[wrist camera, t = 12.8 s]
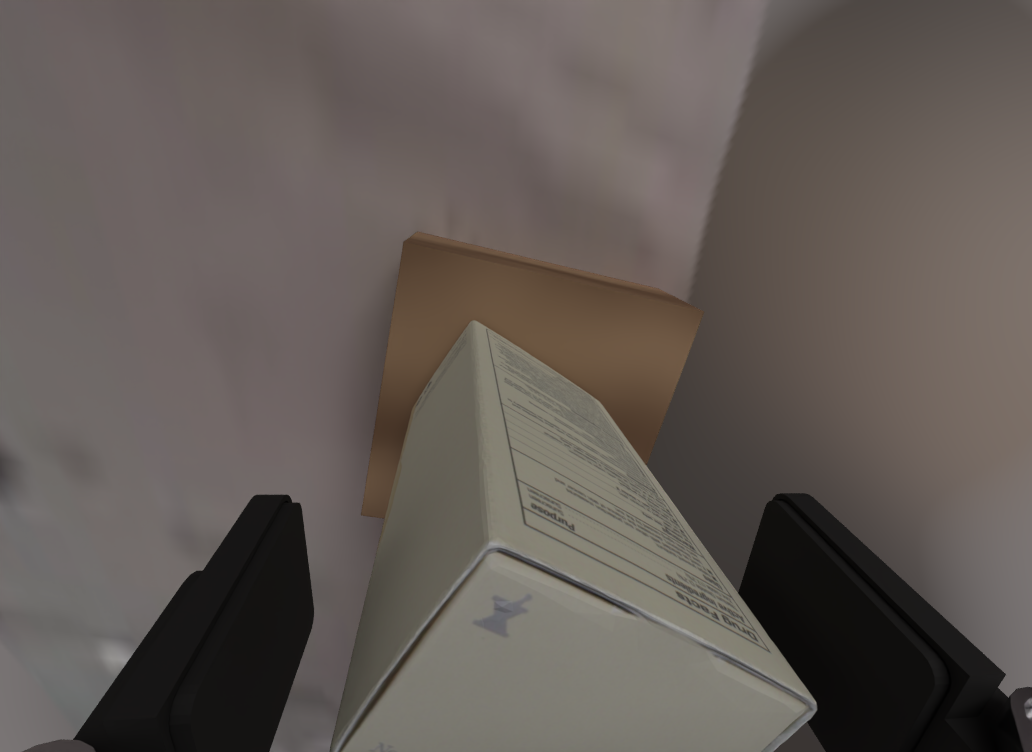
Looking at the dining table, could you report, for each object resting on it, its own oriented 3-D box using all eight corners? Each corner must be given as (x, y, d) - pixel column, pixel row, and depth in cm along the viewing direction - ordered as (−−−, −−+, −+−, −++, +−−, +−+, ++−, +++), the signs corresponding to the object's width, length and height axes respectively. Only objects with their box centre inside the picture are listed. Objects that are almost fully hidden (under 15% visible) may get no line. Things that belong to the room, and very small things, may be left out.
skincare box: (409, 408, 18) (294, 765, 6) (475, 311, 17) (478, 528, 5) (544, 486, 20) (645, 882, 8) (612, 401, 18) (836, 715, 7)
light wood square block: (418, 230, 21) (403, 241, 16) (655, 287, 22) (704, 311, 18) (381, 453, 24) (361, 515, 19) (588, 486, 26) (614, 550, 21)
